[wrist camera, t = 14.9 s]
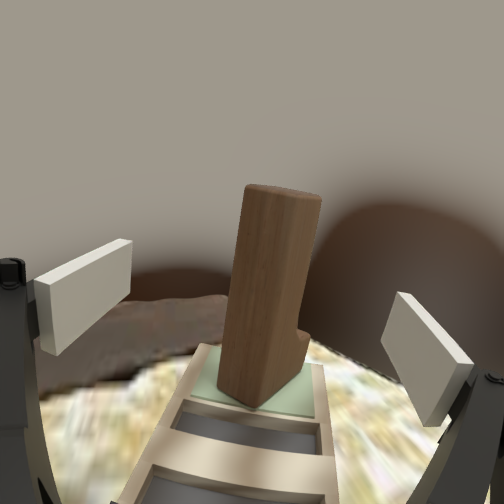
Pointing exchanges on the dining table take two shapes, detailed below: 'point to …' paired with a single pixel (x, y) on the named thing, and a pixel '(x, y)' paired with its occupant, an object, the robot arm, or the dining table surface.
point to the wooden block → (267, 293)
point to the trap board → (238, 444)
